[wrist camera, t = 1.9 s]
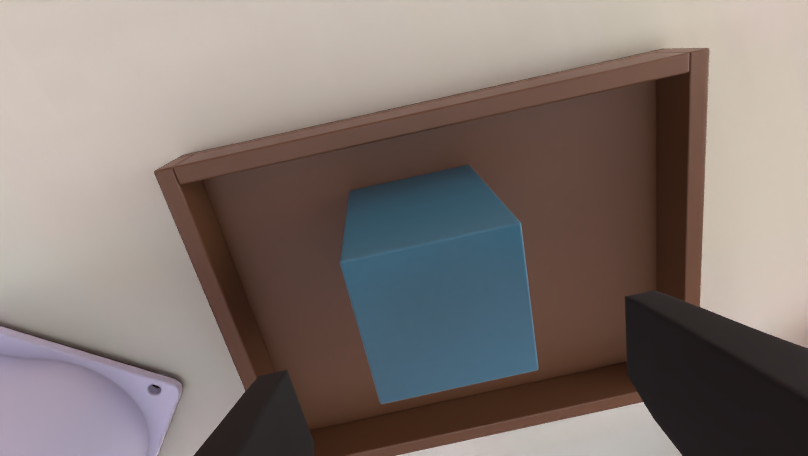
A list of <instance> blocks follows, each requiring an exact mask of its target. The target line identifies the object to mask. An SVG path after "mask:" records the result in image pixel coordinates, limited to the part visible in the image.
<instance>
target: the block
mask: <svg viewBox="0 0 808 456" xmlns="http://www.w3.org/2000/svg"><path fill="white" fill-rule="evenodd" d="M340 266H341V269H342V273H343V276H344V280H345V283H346V287H347V290H348V294H349V297H350V301H351V304H352V308H353V311H354V315H355V318H356V322H357V325H358V329H359V332H360V336H361V339H362V342H363V346H364V349H365V353H366V356H367V360H368V363H369V367H370V370H371V374H372V377H373V381H374V384H375V388H376V391H377V395H378V398H379V402H380V403H381V404H385V403H390V402H394V401H399V400H404V399H408V398H413V397H417V396H422V395H427V394H431V393H436V392H440V391H445V390H450V389H454V388H459V387H463V386H468V385H472V384H477V383H482V382H486V381H491V380H495V379H500V378H505V377H509V376H514V375H518V374H523V373H528V372H532V371H537V370H538V360H537V351H536V343H535V335H534V326H533V318H532V310H531V301H530V293H529V285H528V276H527V268H526V260H525V251H524V243H523V234H522V226H521V222H520V221H519V220H518V219H517V218H516V217H515V216H514V214H513V213H512V212H511V211H510V210H509V209H508V208H507V207H506V206H505V204H504V203H503V202H502V201H501V200H500V199H499V198H498V197H497V195H496V194H495V193H494V192H493V191H492V190H491V189H490V188H489V187H488V185H487V184H486V183H485V182H484V181H483V180H482V179H481V178H480V177H479V175H478V174H477V173H476V172H475V171H474V170H473V169H472V168H471V167H470V165H465V166H460V167H456V168H451V169H447V170H442V171H438V172H433V173H429V174H424V175H419V176H415V177H410V178H406V179H401V180H397V181H392V182H388V183H383V184H379V185H374V186H370V187H365V188H361V189H356V190H351V191H349V198H348V206H347V213H346V221H345V228H344V236H343V243H342V250H341V258H340Z"/></svg>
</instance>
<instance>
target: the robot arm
mask: <svg viewBox="0 0 808 456" xmlns="http://www.w3.org/2000/svg"><path fill="white" fill-rule="evenodd" d="M625 319H626V351H627V375H628V377H629V379H630V380H631V382H632V384H633V385H634V387H635V389H636V391H637V392H638V394H639V396H640V397H641V399H642V401H643V402H644V404H645V405H646V407H647V409H648V410H649V412H650V413H651V415H652V416H653V418H654V419H655V421H656V422H657V423H658V425H659V426H660V427H661V429H662V430H663V431H664V432H665V434H666V435H667V436H668V438H669V439H670V440H671V441H672V443H673V444H674V445H675V446H676V448H677V449H678V450H679V452H680V453H681V454H682V455H683V456H808V349H807V348H804V347H802V346H799V345H796V344H793V343H791V342H788V341H785V340H782V339H780V338H777V337H774V336H772V335H769V334H766V333H764V332H761V331H759V330H756V329H753V328H751V327H748V326H746V325H743V324H741V323H738V322H736V321H733V320H730V319H728V318H725V317H723V316H720V315H718V314H715V313H713V312H710V311H708V310H705V309H703V308H700V307H698V306H695V305H693V304H690V303H688V302H685V301H683V300H680V299H677V298H675V297H672V296H669V295H667V294H664V293H661V292H658V291H654V290H652V291H648V292H643V293H639V294H634V295H629V296H625ZM153 385H157V386H159V387H160V388H155V387H154V386H153ZM181 393H182V385H181V383H180V382H179V381H177V380H175V379H173V378H170V377H167V376H163V375H160V374H157V373H153V372H150V371H147V370H143V369H140V368H137V367H134V366H130V365H127V364H124V363H120V362H117V361H114V360H110V359H107V358H104V357H100V356H97V355H94V354H91V353H87V352H84V351H81V350H77V349H74V348H71V347H67V346H64V345H61V344H57V343H54V342H51V341H48V340H44V339H41V338H38V337H34V336H31V335H28V334H24V333H21V332H18V331H15V330H11V329H8V328H5V327H1V326H0V456H158V454H159V451H160V448H161V446H162V443H163V441H164V438H165V435H166V433H167V430H168V427H169V425H170V422H171V419H172V417H173V414H174V411H175V409H176V406H177V404H178V401H179V398H180V396H181ZM194 456H314V441H313V438H312V436H311V433H310V430H309V428H308V425H307V422H306V419H305V417H304V414H303V411H302V409H301V406H300V403H299V400H298V398H297V395H296V392H295V390H294V387H293V384H292V382H291V379H290V376H289V373H288V371H287V370H284V371H279V372H275V373H270V374H265V375H261V376H258V378H257V379H256V380H255V381H254V382H253V383H252V384H251V386H250V387H249V388H248V389H247V390H246V392H245V393H244V394H243V395H242V397H241V398H240V399H239V400H238V402H237V403H236V404H235V405H234V407H233V408H232V409H231V410H230V412H229V413H228V414H227V415H226V417H225V418H224V419H223V420H222V422H221V423H220V424H219V425H218V427H217V428H216V429H215V430H214V431H213V433H212V434H211V435H210V436H209V438H208V439H207V440H206V441H205V442H204V444H203V445H202V446H201V447H200V449H199V450H198V451H197V452H196V453H195V455H194Z"/></svg>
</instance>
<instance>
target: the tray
mask: <svg viewBox="0 0 808 456" xmlns="http://www.w3.org/2000/svg"><path fill="white" fill-rule="evenodd" d="M708 74H709V48H680V49H660V50H656V51H651V52H647V53H642V54H638V55H633V56H629V57H624V58H620V59H615V60H611V61H606V62H602V63H597V64H593V65H588V66H583V67H579V68H574V69H570V70H565V71H561V72H556V73H552V74H547V75H543V76H538V77H534V78H529V79H525V80H520V81H516V82H511V83H507V84H502V85H498V86H493V87H489V88H484V89H480V90H475V91H471V92H466V93H462V94H457V95H453V96H448V97H444V98H439V99H434V100H430V101H425V102H421V103H416V104H412V105H407V106H403V107H398V108H394V109H389V110H385V111H380V112H376V113H371V114H367V115H362V116H358V117H353V118H349V119H344V120H340V121H335V122H331V123H326V124H322V125H317V126H313V127H308V128H304V129H299V130H295V131H290V132H285V133H281V134H276V135H272V136H267V137H263V138H258V139H254V140H249V141H245V142H240V143H236V144H231V145H227V146H222V147H218V148H213V149H209V150H204V151H200V152H195V153H191V154H186V155H182V156H180V157H178V158H177V159H175V160H173V161H171V162H170V163H168V164H166V165H164V166H162V167H161V168H159V169H157V170H155V171H154V173H155V176H156V178H157V181H158V183H159V185H160V188H161V190H162V193H163V195H164V197H165V200H166V202H167V204H168V207H169V209H170V212H171V214H172V216H173V219H174V221H175V224H176V226H177V228H178V231H179V233H180V235H181V238H182V240H183V243H184V245H185V247H186V250H187V252H188V255H189V257H190V259H191V262H192V264H193V266H194V269H195V271H196V274H197V276H198V278H199V281H200V283H201V285H202V288H203V290H204V293H205V295H206V297H207V300H208V302H209V305H210V307H211V309H212V312H213V314H214V316H215V319H216V321H217V324H218V326H219V328H220V331H221V333H222V336H223V338H224V340H225V343H226V345H227V347H228V350H229V352H230V355H231V357H232V359H233V362H234V364H235V367H236V369H237V371H238V374H239V376H240V378H241V381H242V383H243V386H244V388H245V390H247V389H248V388H249V387H250V386H251V384H252V383H253V382H254V381H255V380H256V379H257V378H258V376H261V375H265V374H270V373H275V372H279V371H284V370H287V371H288V373H289V376H290V379H291V382H292V384H293V387H294V390H295V392H296V395H297V398H298V400H299V403H300V406H301V409H302V411H303V414H304V417H305V419H306V422H307V425H308V428H309V430H310V433H311V436H312V438H313V441H314V456H396V455H401V454H405V453H410V452H414V451H419V450H424V449H428V448H433V447H438V446H442V445H447V444H451V443H456V442H461V441H465V440H470V439H474V438H479V437H484V436H488V435H493V434H497V433H502V432H507V431H511V430H516V429H520V428H525V427H530V426H534V425H539V424H543V423H548V422H553V421H557V420H562V419H566V418H571V417H576V416H580V415H585V414H589V413H594V412H599V411H603V410H608V409H612V408H617V407H622V406H626V405H631V404H635V403H640V402H643V401H642V399H641V397H640V396H639V394H638V392H637V391H636V389H635V387H634V385H633V384H632V382H631V380H630V379H629V377H628V375H627V351H626V319H625V296H629V295H634V294H639V293H643V292H648V291H652V290H654V291H658V292H661V293H664V294H667V295H669V296H672V297H675V298H677V299H680V300H683V301H685V302H688V303H690V304H693V305H695V306H698V307H700V285H701V259H702V232H703V206H704V179H705V153H706V127H707V100H708ZM465 165H470V167H471V168H472V169H473V170H474V171H475V172H476V173H477V174H478V175H479V177H480V178H481V179H482V180H483V181H484V182H485V183H486V184H487V185H488V187H489V188H490V189H491V190H492V191H493V192H494V193H495V194H496V195H497V197H498V198H499V199H500V200H501V201H502V202H503V203H504V204H505V206H506V207H507V208H508V209H509V210H510V211H511V212H512V213H513V214H514V216H515V217H516V218H517V219H518V220H519V221H520V222H521V226H522V234H523V243H524V251H525V260H526V268H527V276H528V285H529V293H530V301H531V310H532V318H533V326H534V335H535V343H536V351H537V360H538V370H537V371H532V372H528V373H523V374H518V375H514V376H509V377H505V378H500V379H495V380H491V381H486V382H482V383H477V384H472V385H468V386H463V387H459V388H454V389H450V390H445V391H440V392H436V393H431V394H427V395H422V396H417V397H413V398H408V399H404V400H399V401H394V402H390V403H385V404H381V403H380V402H379V398H378V395H377V391H376V388H375V384H374V381H373V377H372V374H371V370H370V367H369V363H368V360H367V356H366V353H365V349H364V346H363V342H362V339H361V336H360V332H359V329H358V325H357V322H356V318H355V315H354V311H353V308H352V304H351V301H350V297H349V294H348V290H347V287H346V283H345V280H344V276H343V273H342V269H341V266H340V258H341V250H342V243H343V236H344V228H345V221H346V213H347V206H348V198H349V191H351V190H356V189H361V188H365V187H370V186H374V185H379V184H383V183H388V182H392V181H397V180H401V179H406V178H410V177H415V176H419V175H424V174H429V173H433V172H438V171H442V170H447V169H451V168H456V167H460V166H465Z"/></svg>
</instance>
